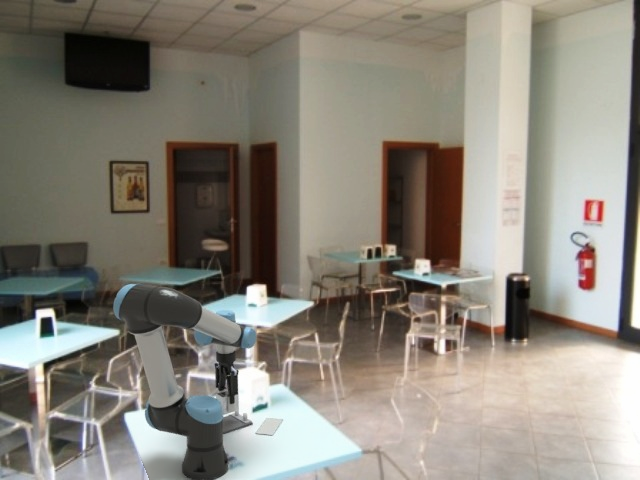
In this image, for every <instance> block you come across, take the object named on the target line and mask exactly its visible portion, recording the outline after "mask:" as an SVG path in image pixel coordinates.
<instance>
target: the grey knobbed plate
mask: <svg viewBox="0 0 640 480" xmlns="http://www.w3.org/2000/svg"><path fill="white" fill-rule="evenodd" d="M239 410H240V409H239ZM239 410H237V411H234V412H232V413H229V415H226V416H225V415H224V416H223V435H225V434H229V433H231V432H235V431H238V430H240V429H244V428H246V427H250V426H252V425H253V424H254V422H253V421H252V420H251V419H249V418H248V413H246V412H244V413H243V414H242V415H241V414H240V413H239V412H240V411H239Z"/></svg>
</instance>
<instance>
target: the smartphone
mask: <svg viewBox="0 0 640 480" xmlns="http://www.w3.org/2000/svg"><path fill="white" fill-rule="evenodd" d="M283 421H284V419H283V418H271V417H266V418H265V420H263V422H262V424H261V425H260V426H259V428H258V429H257V430H256V432H255V434H256V435H260V436H261V435H262V436H271V437H272V436H274V434H275V433H276V431H278V428H280V426H281V424H282V422H283Z"/></svg>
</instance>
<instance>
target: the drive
mask: <svg viewBox="0 0 640 480" xmlns="http://www.w3.org/2000/svg"><path fill="white" fill-rule="evenodd" d="M227 395H229V394H228V389H226V391H224V392H220V393H219V392H216V393H215V398H216V399H217V400H219V401H220V403H221V405H222V411H223V416H225V415H228V414H232V413H235V411H237V410H240V409H239V408H240V407H239V406H240V404H239V402H240V401H239V399H240V398H239V394H238V395H235V403H234V406H235V411H232V412H229V413H228V408H227Z"/></svg>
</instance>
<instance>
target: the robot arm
mask: <svg viewBox="0 0 640 480" xmlns="http://www.w3.org/2000/svg"><path fill="white" fill-rule="evenodd" d="M112 309H113V313H114V316H115V317H116V318H117V319H119V321H121V322H125V326H126V328H127V332H128V333H129V334H131V335H133V336H134V338H135V341H136V345H137V348H138V353H139V356H140V360H141V362H142V366H143V369H144V374H145V376H146V380H147V383H148V386H149V390H150V395H149V397H148V399H147V402H146V404H145V408H146V409H145V411H144V417H145V421H146V423H147V424H148V426H150V427H151V428H152V429H155V430H157V431H160V432H164V433H165V432H166V433H169V434H173V435H174V434H175V435H178V436H182V437H186V451H185V453H184V456H183V460H182V464H181V472H182V475H183V476H184V477H185V478H187V479H190V480H214V479H215V480H216V479H218V478H219V477H222V476H223V475H225V474H226V473H227V472H228V471H229V468H228V464H229V458H228V455H227V453H226V449H225V447H224V434H223V417H224V415H223V411H222V405H221V403H220V401H219V400H217V399H216V397H213V396H209V395H207V394H206V395H193V396H190V397H189V398H187V397H186V395H185V391H184V388H183V387H182V386H180V385H178V383H177V379H176V375H175V372H174V369H173V364H172V360H171V357H170V353H169V350H168V345H167V342H166V338H165V334H164V330H163V327H165V326H166V327H176V328H180V329H183V330H194V336H193V337H194V340H195V342H196V343H197V344H198V345H199V346H202V347H204V346H210V345H212V344H213V345H215V351H216V352H215V357H216V358H215V360H216V362H214V369H215V370H214V371H215V372H214V373H215V375H214V376H215V389H217V390H218V393H220V392H224V391H227V390H228V394H229V395H227V408H228V414H230V413H229V412H231V413H233V412H232V411H234V412H235V406H234V403H235V395H238V396H239V377H238V376H239V369H235V365H234V363H235V361H237V351H236V349H237V348H241V349H247V350H249V349H252V348H253V347H254V346H255V344H256V342H257V341H256V340H257V331H256V329H254V327H250V326H243V325H240V324H239V323H237V322H236V313H235V311H233V310H228V309H225V310H224V309H223V310H219V311H218V310H217V311H216V312H214V311H212V310H209V309H207V308H206V307H203V306H202V304H201V303H200V302H199V301H198V300H197V299H195V298H193V297H191V296H189V295H187V294H185V293H182V292H180V291H179V290H176V289H174V288H171V287H166V286H158V285H147V284H142V283H130V284H126V285H124V286H123V287H122V288H121V289H120V290H118V292H117V294H116V297H115V298H114V301H113V308H112ZM229 465H230V464H229Z"/></svg>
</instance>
